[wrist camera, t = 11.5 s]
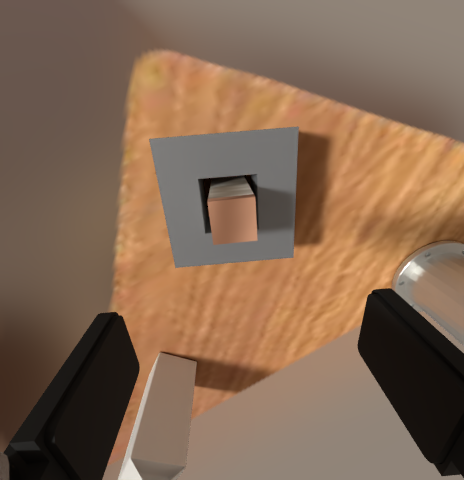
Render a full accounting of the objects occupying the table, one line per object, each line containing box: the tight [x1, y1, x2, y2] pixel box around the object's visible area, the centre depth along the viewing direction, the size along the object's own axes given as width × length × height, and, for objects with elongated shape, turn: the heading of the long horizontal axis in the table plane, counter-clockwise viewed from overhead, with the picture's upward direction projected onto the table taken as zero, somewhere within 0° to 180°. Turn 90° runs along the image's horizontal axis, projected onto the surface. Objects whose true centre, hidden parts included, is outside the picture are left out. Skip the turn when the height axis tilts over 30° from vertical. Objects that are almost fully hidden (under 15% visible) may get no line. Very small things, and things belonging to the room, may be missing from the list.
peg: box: [207, 175, 258, 245], centre depth 25 cm, size 4×4×11 cm
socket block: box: [149, 127, 299, 268], centre depth 27 cm, size 14×14×6 cm
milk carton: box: [118, 352, 197, 480], centre depth 35 cm, size 7×7×19 cm
